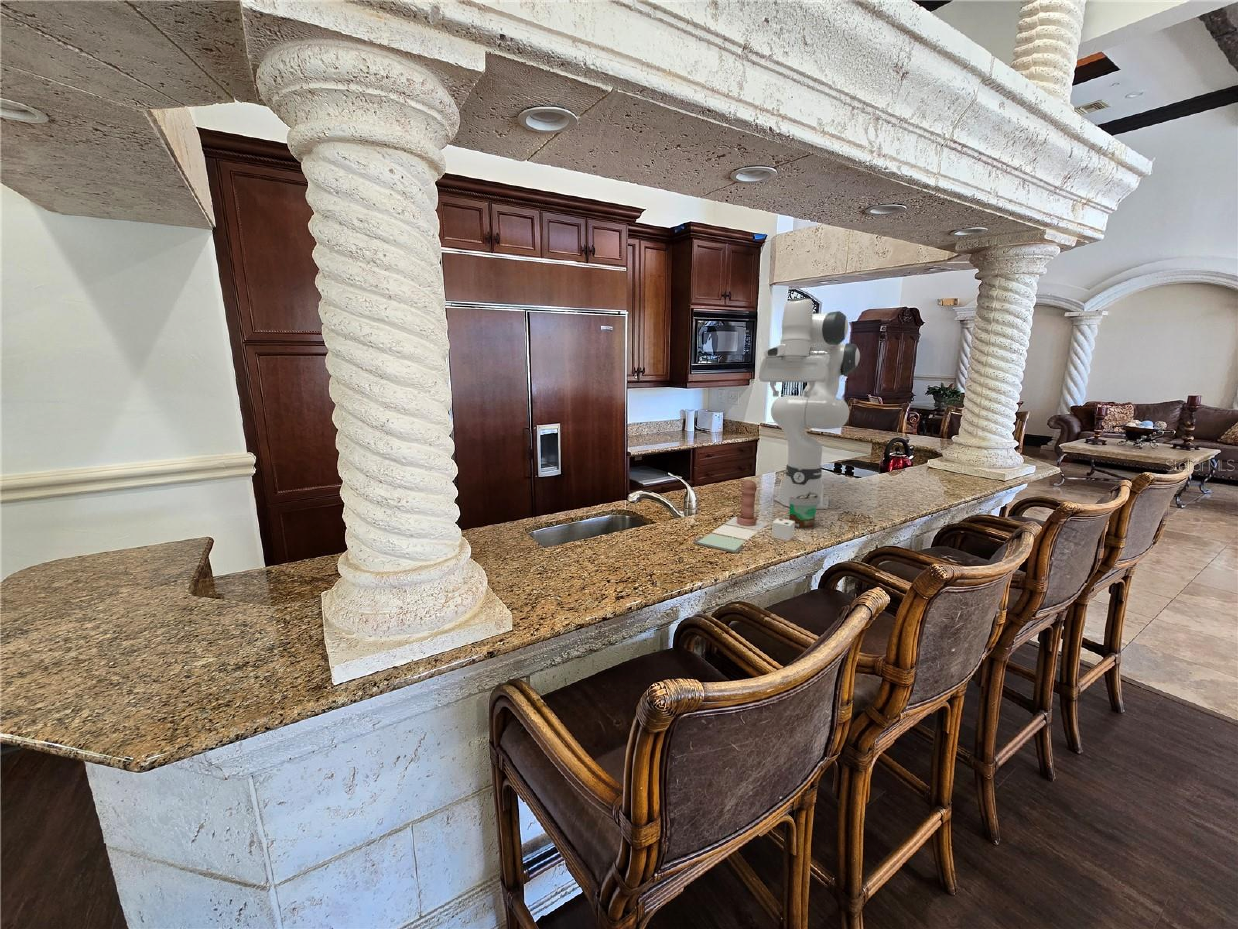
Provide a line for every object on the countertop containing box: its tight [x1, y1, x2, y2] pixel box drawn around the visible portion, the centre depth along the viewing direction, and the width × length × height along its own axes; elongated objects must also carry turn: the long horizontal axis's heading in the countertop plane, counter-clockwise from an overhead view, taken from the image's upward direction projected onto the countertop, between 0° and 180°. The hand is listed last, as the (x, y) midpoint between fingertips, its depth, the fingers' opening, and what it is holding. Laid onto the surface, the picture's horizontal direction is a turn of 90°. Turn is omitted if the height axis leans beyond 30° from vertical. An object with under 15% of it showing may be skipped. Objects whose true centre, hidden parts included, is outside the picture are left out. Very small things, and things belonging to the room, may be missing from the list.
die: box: [770, 517, 795, 542], centre depth 145 cm, size 5×5×5 cm
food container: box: [788, 491, 820, 529], centre depth 155 cm, size 12×6×10 cm, turn 131°
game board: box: [692, 516, 769, 554], centre depth 149 cm, size 31×13×1 cm, turn 146°
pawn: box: [736, 479, 758, 526], centre depth 156 cm, size 6×6×14 cm
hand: (791, 396), depth 154 cm, fingers open, 8 cm apart
